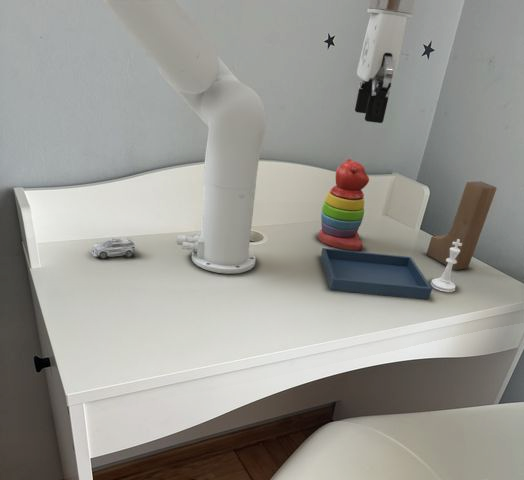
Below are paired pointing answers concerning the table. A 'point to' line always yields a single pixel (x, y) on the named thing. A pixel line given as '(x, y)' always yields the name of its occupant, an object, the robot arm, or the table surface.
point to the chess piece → (447, 271)
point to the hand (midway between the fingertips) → (367, 117)
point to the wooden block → (464, 225)
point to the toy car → (114, 248)
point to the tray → (374, 274)
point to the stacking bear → (344, 208)
